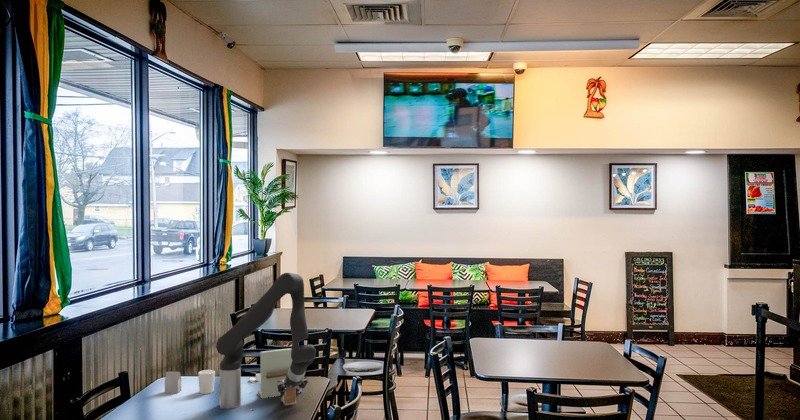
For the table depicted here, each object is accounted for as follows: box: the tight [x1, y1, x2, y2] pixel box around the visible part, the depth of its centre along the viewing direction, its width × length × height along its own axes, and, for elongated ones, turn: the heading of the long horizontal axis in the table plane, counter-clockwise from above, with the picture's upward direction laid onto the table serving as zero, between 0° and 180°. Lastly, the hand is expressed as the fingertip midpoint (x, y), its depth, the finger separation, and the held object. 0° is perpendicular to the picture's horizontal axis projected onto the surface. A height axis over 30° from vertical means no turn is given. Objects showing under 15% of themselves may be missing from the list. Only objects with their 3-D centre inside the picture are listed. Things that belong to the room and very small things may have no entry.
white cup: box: [198, 369, 216, 395], centre depth 279 cm, size 8×8×10 cm
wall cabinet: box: [280, 379, 297, 406], centre depth 263 cm, size 9×5×10 cm, turn 27°
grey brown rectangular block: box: [164, 371, 182, 394], centre depth 280 cm, size 4×7×10 cm, turn 87°
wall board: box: [257, 347, 303, 399], centre depth 276 cm, size 11×20×22 cm, turn 117°
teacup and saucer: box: [248, 372, 261, 384], centre depth 297 cm, size 9×8×4 cm
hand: (288, 392), depth 262 cm, fingers open, 6 cm apart
